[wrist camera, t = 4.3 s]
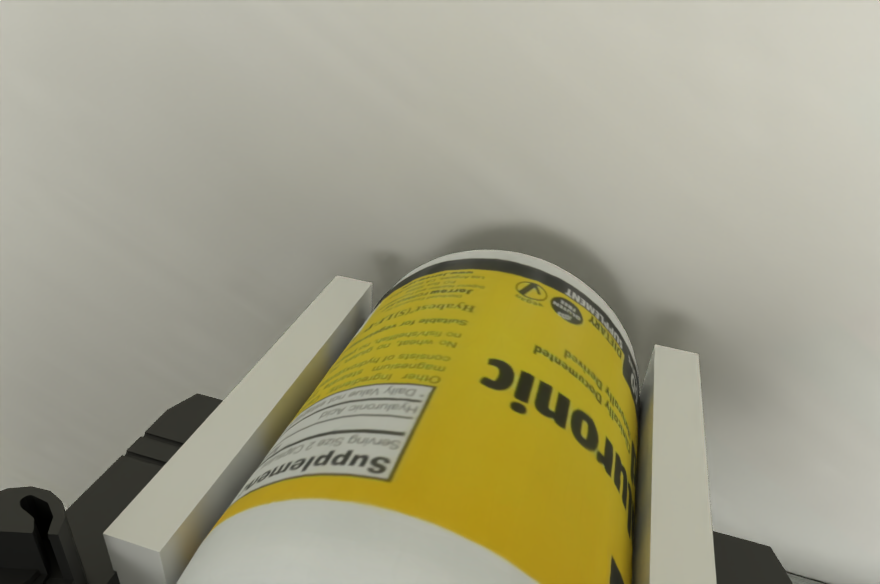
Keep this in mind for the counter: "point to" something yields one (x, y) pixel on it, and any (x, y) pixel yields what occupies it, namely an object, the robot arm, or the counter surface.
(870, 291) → the counter surface
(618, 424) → the supplement bottle
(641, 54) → the counter surface
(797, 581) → the mold
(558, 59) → the counter surface
